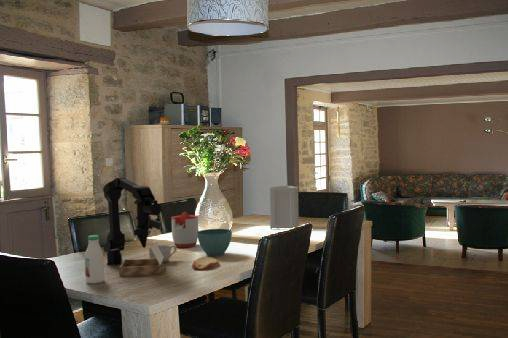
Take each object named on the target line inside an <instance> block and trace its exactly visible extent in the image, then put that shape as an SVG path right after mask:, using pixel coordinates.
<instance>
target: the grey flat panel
mask: <svg viewBox="0 0 508 338" xmlns="http://www.w3.org/2000/svg"><path fill="white" fill-rule="evenodd" d="M157 245H158V244H157V242H156V240H154V241H153V243H152V244H151V245H150V247H151V249H152V251H153V253H154V255H155V257H156V259H157V261H158V262H159V264H160V265H161V262H162V260H163V258H164V257H163V255H162V253H161V251H160V249H159V247H158V246H157Z"/></svg>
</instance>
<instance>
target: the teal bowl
mask: <svg viewBox="0 0 508 338" xmlns="http://www.w3.org/2000/svg"><path fill="white" fill-rule="evenodd" d="M232 233H233V230H231V229H226V228H210V229H202V230H198V232H197V236H198V239H197V242H198V243H199V246H200V247H201V250H203V252H204V253H205V254H206V255H207V257H221V256H223V255H224V254H225V252H226V251H227V249H228V248H229V246H230V244H231V240H232V236H233V234H232Z"/></svg>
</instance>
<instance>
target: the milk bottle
mask: <svg viewBox="0 0 508 338" xmlns="http://www.w3.org/2000/svg"><path fill="white" fill-rule="evenodd" d="M87 240H88V245H87V248H86V250H85V254H84V265H85V267H84V270H85V271H84V272H85V282H86V283H87V284H100V283H103V282H105V262H104V251H103V250H102V249H103V248H102V247H101V246H100V242H99V241H100V236H99V234H98V235H97V234H93V235H91V234H90V235H88V236H87Z"/></svg>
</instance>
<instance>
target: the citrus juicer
mask: <svg viewBox="0 0 508 338" xmlns="http://www.w3.org/2000/svg"><path fill="white" fill-rule="evenodd" d="M170 218H171V235H172V239H173V243H174V246H176V248H186V249H187V248H189V249H190V248H192V247H195V246H197V243H198V236H197V232H198V231H199V215H196V214H195V215H194V214H188V212H187V211H183V212H182V213H181V214H180V215H173V216H171V217H170Z"/></svg>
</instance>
